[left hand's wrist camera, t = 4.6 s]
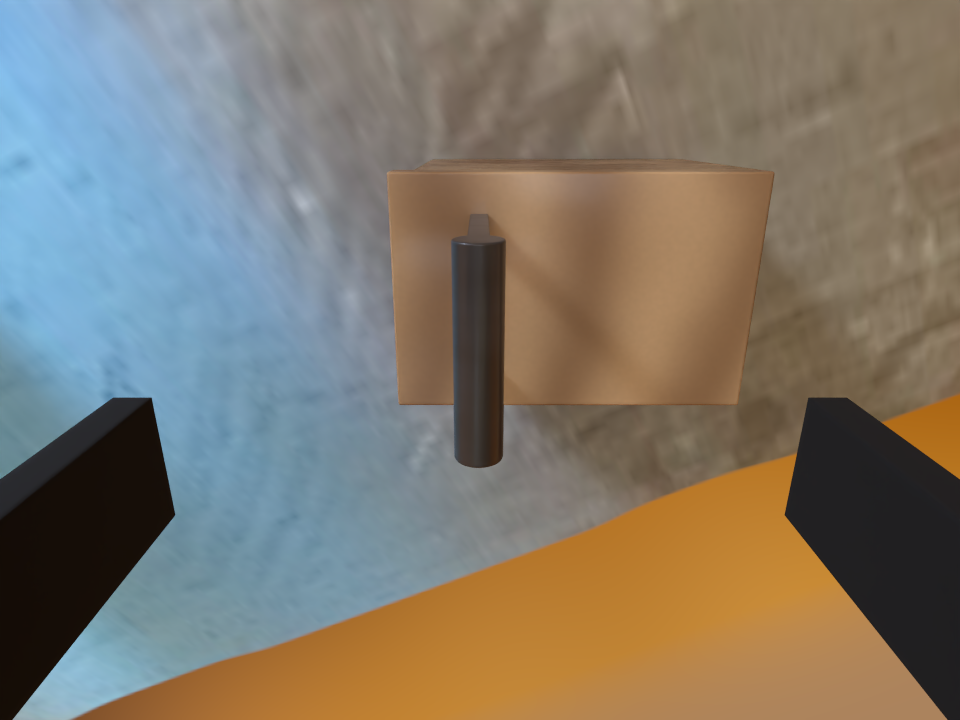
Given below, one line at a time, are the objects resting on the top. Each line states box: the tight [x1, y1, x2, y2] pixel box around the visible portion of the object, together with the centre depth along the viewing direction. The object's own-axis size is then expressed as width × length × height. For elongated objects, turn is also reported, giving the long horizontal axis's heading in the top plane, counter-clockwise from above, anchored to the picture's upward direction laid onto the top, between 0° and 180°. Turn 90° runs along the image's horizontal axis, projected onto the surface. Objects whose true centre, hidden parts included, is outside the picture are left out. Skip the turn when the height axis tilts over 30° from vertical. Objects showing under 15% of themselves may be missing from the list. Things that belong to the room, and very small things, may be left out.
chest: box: [415, 159, 757, 170], centre depth 30 cm, size 14×10×10 cm
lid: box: [387, 170, 774, 468], centre depth 22 cm, size 14×10×9 cm, turn 90°
